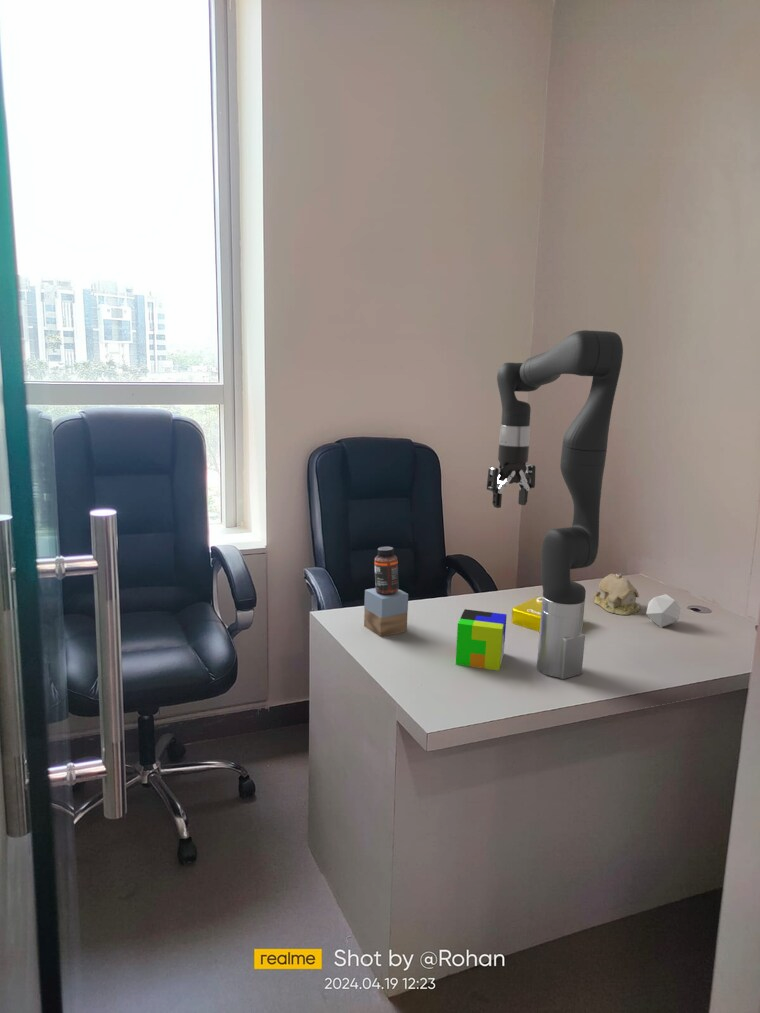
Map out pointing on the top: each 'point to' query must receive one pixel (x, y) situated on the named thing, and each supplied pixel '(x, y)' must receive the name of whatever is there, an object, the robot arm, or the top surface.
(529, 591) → the top surface
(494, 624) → the puzzle toy
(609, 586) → the ceramic model
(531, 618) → the element tile
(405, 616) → the tower base block
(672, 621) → the die
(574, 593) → the robot arm
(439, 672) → the top surface
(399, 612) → the tower top block
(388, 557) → the supplement bottle
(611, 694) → the top surface
